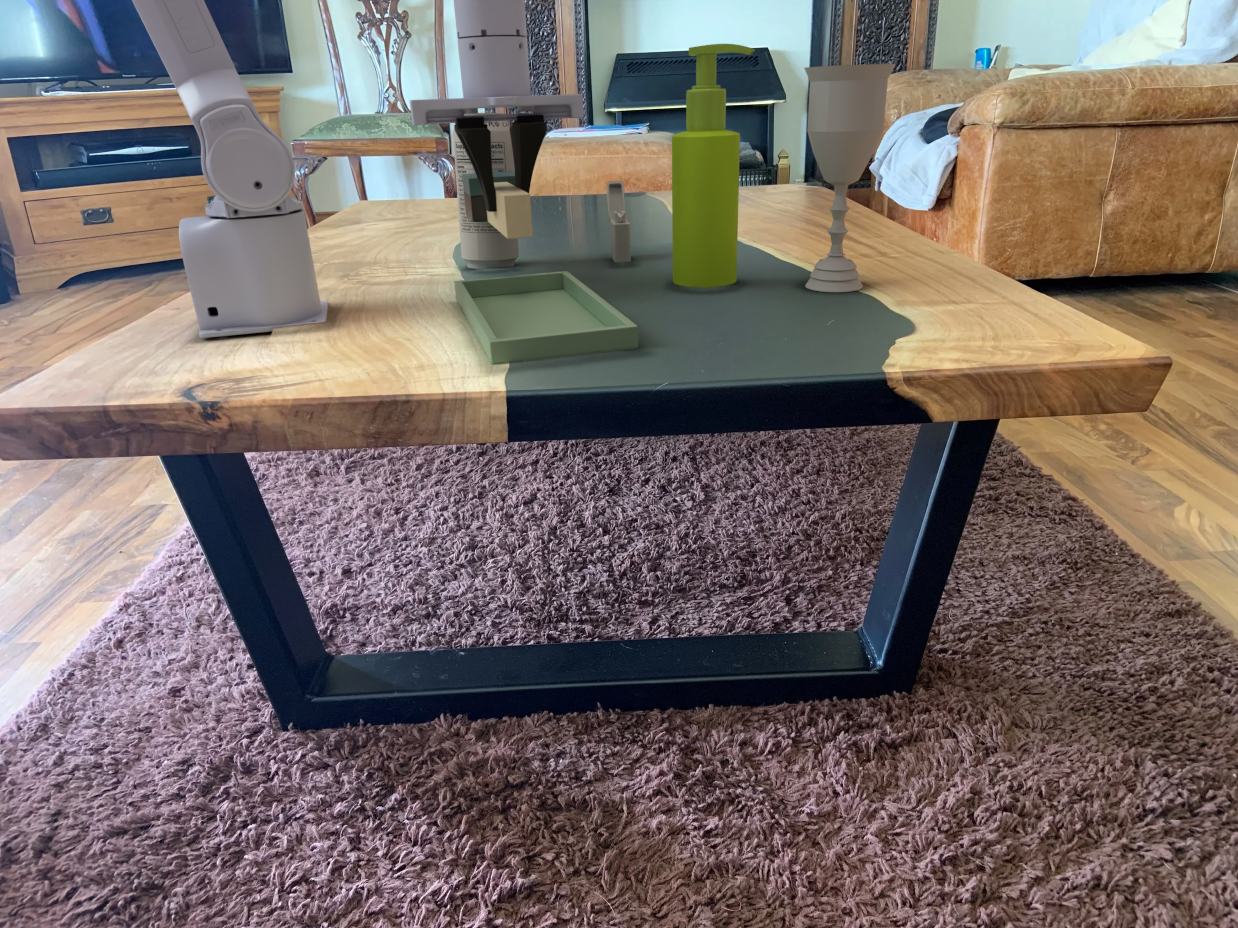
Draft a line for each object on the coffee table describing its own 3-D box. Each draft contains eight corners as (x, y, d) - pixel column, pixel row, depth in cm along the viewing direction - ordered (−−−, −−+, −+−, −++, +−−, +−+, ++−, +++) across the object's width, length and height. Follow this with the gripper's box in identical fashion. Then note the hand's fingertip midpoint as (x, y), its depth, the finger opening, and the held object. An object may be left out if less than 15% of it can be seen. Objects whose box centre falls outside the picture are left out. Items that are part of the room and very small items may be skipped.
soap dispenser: (745, 292, 74) (752, 41, 66) (668, 292, 75) (666, 45, 67) (749, 279, 79) (756, 44, 71) (677, 278, 80) (676, 48, 72)
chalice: (868, 278, 78) (887, 65, 71) (882, 294, 72) (904, 63, 64) (789, 278, 79) (800, 68, 71) (796, 295, 73) (808, 66, 65)
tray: (639, 354, 58) (638, 326, 57) (492, 371, 55) (489, 342, 54) (568, 292, 76) (567, 270, 75) (456, 303, 74) (454, 281, 73)
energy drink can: (527, 263, 91) (521, 114, 85) (506, 271, 85) (498, 112, 80) (476, 261, 92) (467, 114, 87) (452, 269, 87) (440, 113, 81)
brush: (549, 235, 71) (546, 186, 69) (490, 240, 69) (486, 190, 68) (515, 212, 85) (512, 171, 83) (466, 216, 83) (461, 174, 82)
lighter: (631, 266, 87) (629, 186, 84) (614, 267, 87) (612, 186, 84) (624, 254, 94) (621, 179, 90) (608, 255, 93) (606, 180, 90)
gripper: (405, 37, 63) (428, 220, 69) (589, 34, 67) (596, 208, 73) (400, 43, 70) (421, 211, 75) (569, 39, 73) (577, 200, 79)
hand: (506, 209), depth 74 cm, fingers closed on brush, 2 cm apart
